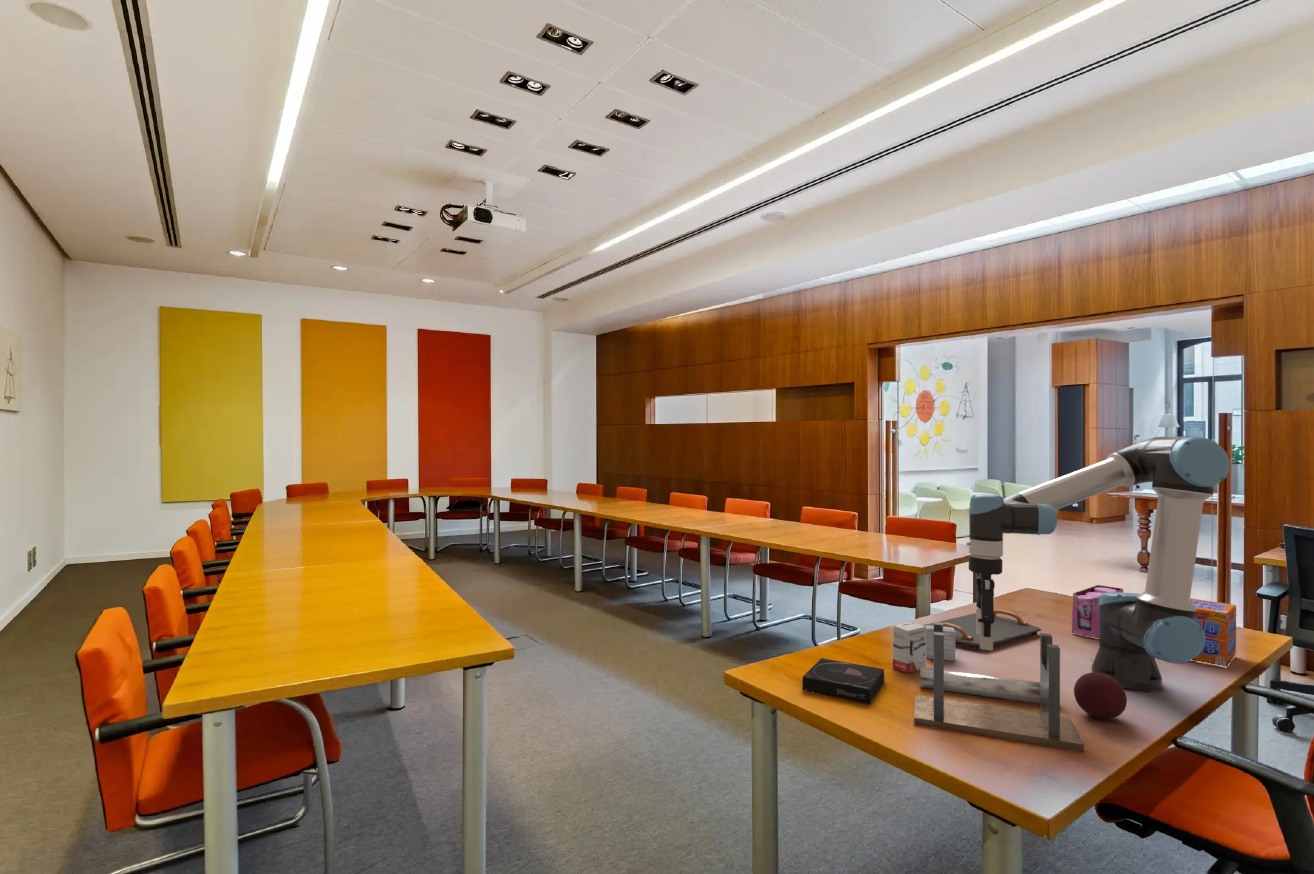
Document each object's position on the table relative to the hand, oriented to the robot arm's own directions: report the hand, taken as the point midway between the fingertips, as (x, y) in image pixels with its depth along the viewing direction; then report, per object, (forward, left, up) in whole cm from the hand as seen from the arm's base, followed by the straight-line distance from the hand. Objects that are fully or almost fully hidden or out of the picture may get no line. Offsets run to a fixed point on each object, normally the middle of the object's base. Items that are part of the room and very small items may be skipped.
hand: (984, 641), depth 161 cm
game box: (-60, -58, -13) cm, 84 cm away
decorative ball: (-23, +5, -13) cm, 27 cm away
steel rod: (0, 0, -13) cm, 13 cm away
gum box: (-39, -76, -13) cm, 86 cm away
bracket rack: (0, +19, -13) cm, 23 cm away
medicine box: (+10, -25, -13) cm, 30 cm away
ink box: (+18, -12, -13) cm, 25 cm away
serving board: (-3, -55, -14) cm, 57 cm away
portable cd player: (+33, +9, -14) cm, 37 cm away
